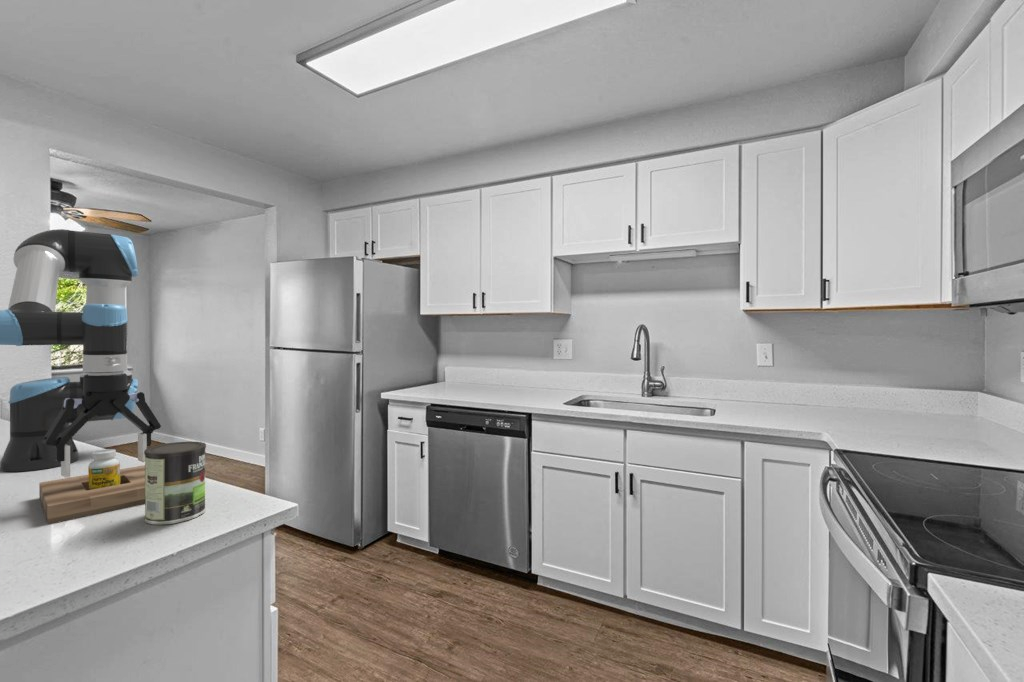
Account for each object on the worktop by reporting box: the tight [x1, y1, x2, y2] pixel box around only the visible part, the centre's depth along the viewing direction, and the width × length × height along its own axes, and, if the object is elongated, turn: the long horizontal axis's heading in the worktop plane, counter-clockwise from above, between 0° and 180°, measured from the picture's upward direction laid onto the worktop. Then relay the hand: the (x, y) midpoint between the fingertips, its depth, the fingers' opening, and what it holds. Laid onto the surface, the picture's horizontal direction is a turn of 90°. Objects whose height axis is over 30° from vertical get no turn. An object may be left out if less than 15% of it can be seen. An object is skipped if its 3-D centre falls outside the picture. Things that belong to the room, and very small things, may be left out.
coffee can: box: [144, 441, 207, 526], centre depth 97 cm, size 10×10×14 cm
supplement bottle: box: [87, 448, 121, 490], centre depth 105 cm, size 5×5×10 cm
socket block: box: [38, 464, 145, 525], centre depth 106 cm, size 20×20×4 cm
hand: (106, 468), depth 106 cm, fingers open, 13 cm apart
